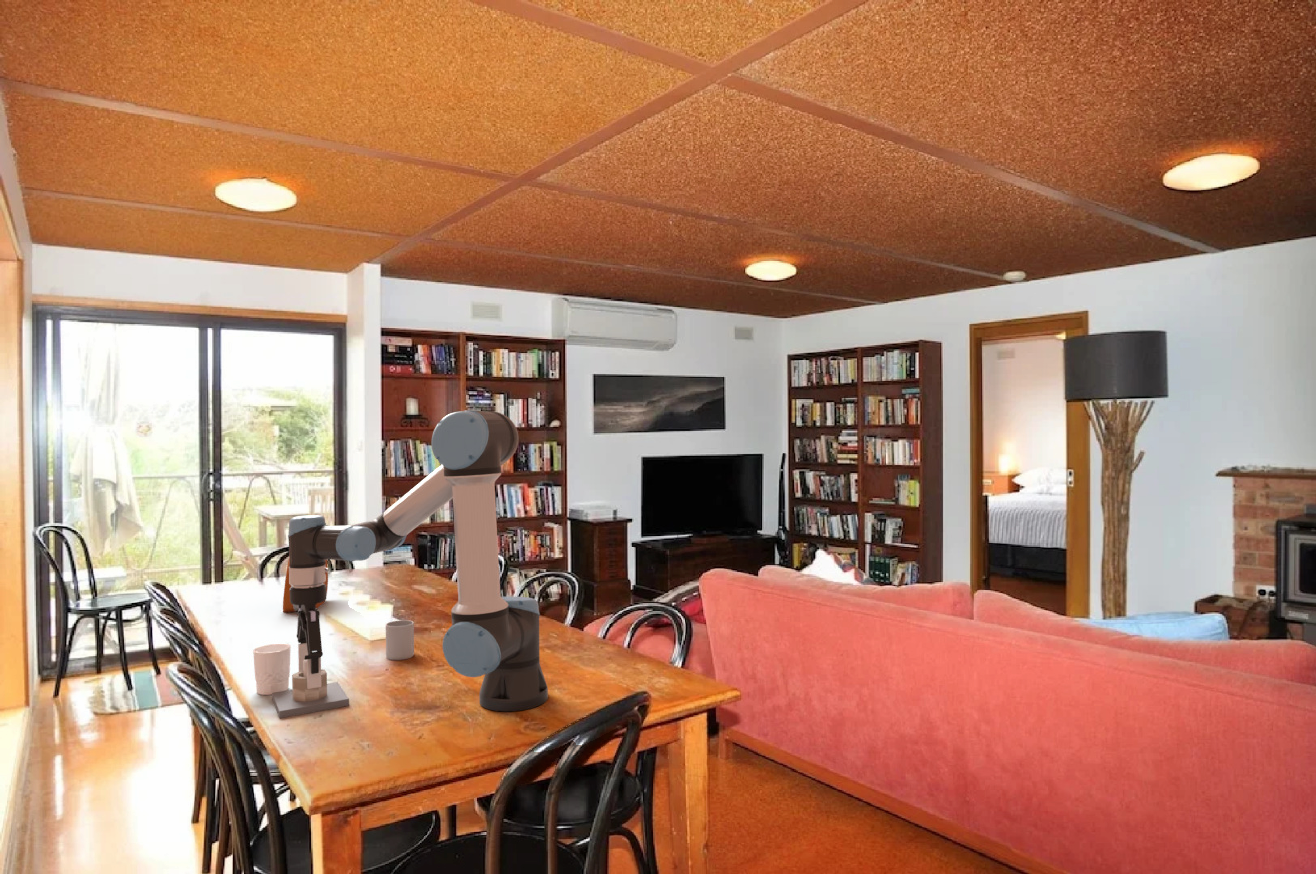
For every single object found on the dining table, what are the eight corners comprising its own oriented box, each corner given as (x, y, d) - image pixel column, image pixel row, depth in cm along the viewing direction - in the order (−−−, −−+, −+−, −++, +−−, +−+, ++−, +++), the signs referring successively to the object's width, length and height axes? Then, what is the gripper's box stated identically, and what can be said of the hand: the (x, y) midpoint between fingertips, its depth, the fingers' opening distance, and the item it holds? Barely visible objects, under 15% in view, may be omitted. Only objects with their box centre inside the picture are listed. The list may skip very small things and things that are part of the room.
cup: (389, 662, 209) (389, 628, 209) (380, 653, 218) (380, 620, 218) (417, 657, 213) (416, 624, 213) (407, 648, 221) (407, 617, 221)
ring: (328, 697, 177) (328, 675, 177) (295, 703, 174) (294, 680, 174) (323, 689, 183) (323, 667, 183) (291, 694, 180) (291, 672, 180)
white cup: (266, 698, 182) (266, 654, 182) (247, 692, 186) (246, 650, 186) (298, 688, 189) (297, 646, 188) (278, 683, 193) (277, 642, 193)
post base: (349, 705, 176) (348, 662, 176) (279, 718, 169) (278, 673, 169) (337, 688, 188) (336, 648, 188) (272, 699, 181) (271, 657, 181)
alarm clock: (300, 600, 286) (299, 537, 286) (328, 599, 287) (327, 536, 287) (278, 614, 264) (276, 546, 264) (309, 613, 265) (307, 546, 265)
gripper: (335, 592, 170) (337, 691, 170) (317, 574, 191) (318, 662, 191) (297, 596, 166) (299, 698, 166) (282, 577, 187) (284, 668, 187)
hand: (309, 679), depth 179 cm, fingers open, 13 cm apart
